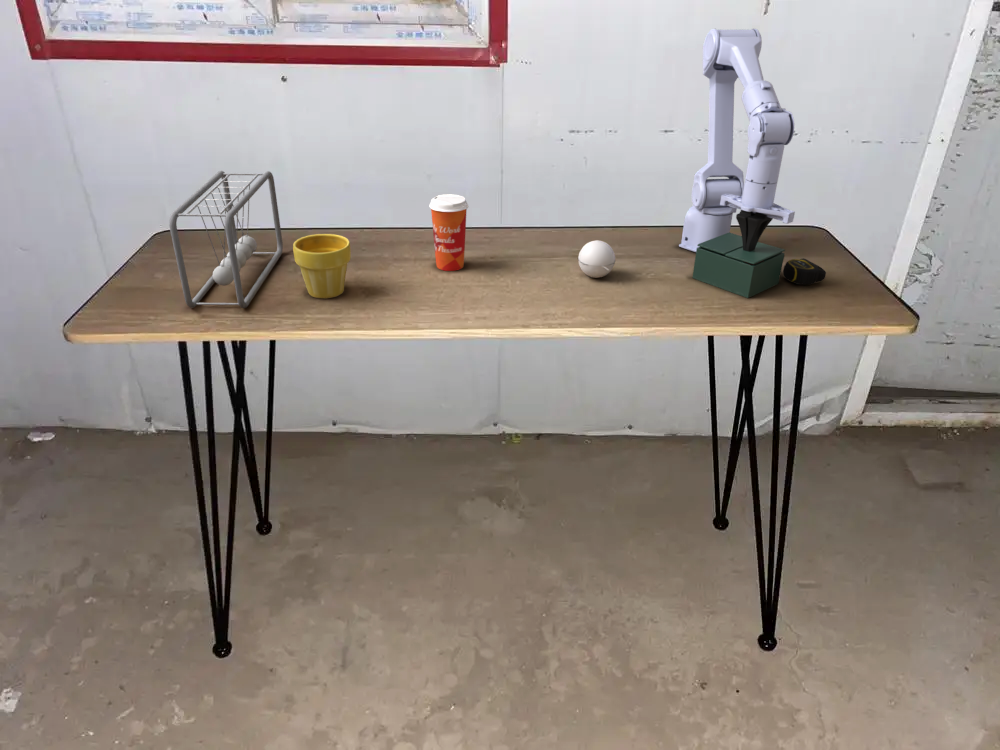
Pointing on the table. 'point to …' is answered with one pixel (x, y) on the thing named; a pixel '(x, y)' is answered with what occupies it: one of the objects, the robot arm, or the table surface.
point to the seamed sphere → (596, 259)
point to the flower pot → (323, 263)
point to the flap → (755, 253)
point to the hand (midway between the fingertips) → (748, 249)
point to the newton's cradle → (228, 238)
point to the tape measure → (803, 272)
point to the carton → (734, 267)
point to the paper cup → (449, 230)
